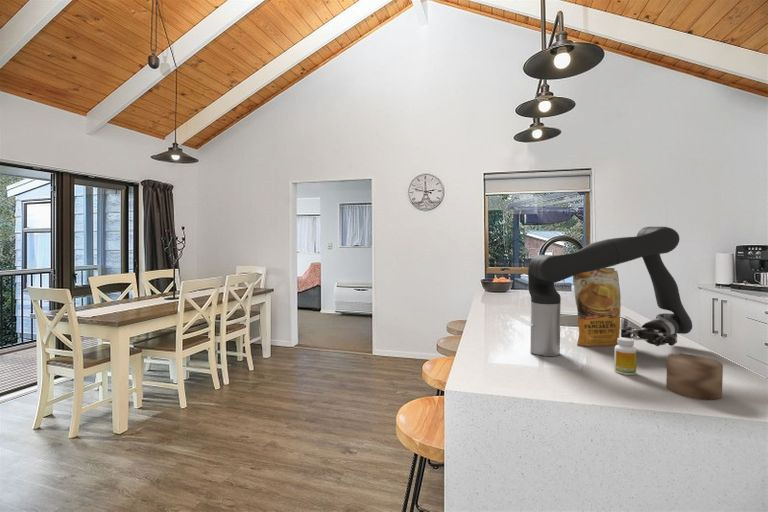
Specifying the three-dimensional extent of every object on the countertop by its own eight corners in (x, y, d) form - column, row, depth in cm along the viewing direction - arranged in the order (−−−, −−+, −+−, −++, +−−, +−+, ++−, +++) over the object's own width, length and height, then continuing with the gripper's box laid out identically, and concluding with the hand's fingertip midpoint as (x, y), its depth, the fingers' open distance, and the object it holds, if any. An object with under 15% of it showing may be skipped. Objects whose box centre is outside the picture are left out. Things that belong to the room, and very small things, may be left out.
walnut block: (674, 396, 95) (675, 364, 94) (660, 381, 105) (661, 352, 105) (730, 403, 91) (731, 369, 90) (710, 386, 101) (711, 356, 101)
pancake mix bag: (566, 342, 144) (567, 267, 143) (615, 340, 146) (616, 266, 145) (577, 347, 138) (578, 268, 136) (627, 345, 139) (629, 268, 138)
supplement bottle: (639, 376, 109) (640, 342, 108) (618, 375, 110) (619, 341, 109) (631, 369, 114) (631, 337, 113) (611, 368, 115) (611, 336, 115)
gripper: (633, 316, 134) (615, 324, 124) (684, 323, 123) (668, 331, 113) (633, 338, 134) (614, 347, 124) (684, 346, 123) (668, 357, 113)
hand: (640, 339), depth 118 cm, fingers open, 8 cm apart
